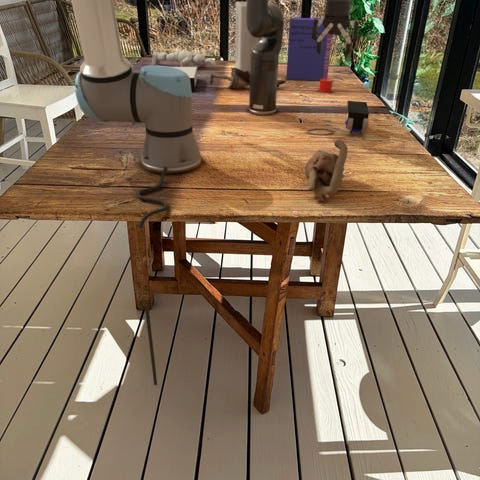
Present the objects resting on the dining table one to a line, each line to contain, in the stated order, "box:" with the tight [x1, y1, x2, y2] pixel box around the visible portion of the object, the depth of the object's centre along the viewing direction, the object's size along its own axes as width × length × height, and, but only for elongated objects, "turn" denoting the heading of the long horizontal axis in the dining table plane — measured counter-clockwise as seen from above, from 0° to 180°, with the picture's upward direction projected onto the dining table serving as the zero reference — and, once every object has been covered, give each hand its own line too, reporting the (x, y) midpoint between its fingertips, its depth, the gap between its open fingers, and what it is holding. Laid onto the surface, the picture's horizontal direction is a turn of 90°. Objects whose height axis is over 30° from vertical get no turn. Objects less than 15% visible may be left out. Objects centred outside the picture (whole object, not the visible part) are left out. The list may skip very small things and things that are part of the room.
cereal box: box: [285, 17, 333, 81], centre depth 201 cm, size 17×5×24 cm, turn 86°
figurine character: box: [344, 100, 370, 136], centre depth 146 cm, size 7×8×15 cm
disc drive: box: [172, 66, 198, 92], centre depth 194 cm, size 18×22×5 cm
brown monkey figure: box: [303, 139, 349, 202], centre depth 108 cm, size 13×9×15 cm
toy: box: [151, 50, 218, 68], centre depth 224 cm, size 24×25×7 cm
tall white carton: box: [234, 1, 259, 72], centre depth 210 cm, size 19×15×28 cm
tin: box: [318, 78, 334, 94], centre depth 189 cm, size 5×5×4 cm
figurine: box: [209, 66, 287, 89], centre depth 190 cm, size 24×8×30 cm
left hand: (148, 0), depth 141 cm, fingers open, 13 cm apart
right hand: (332, 55), depth 153 cm, fingers open, 8 cm apart
